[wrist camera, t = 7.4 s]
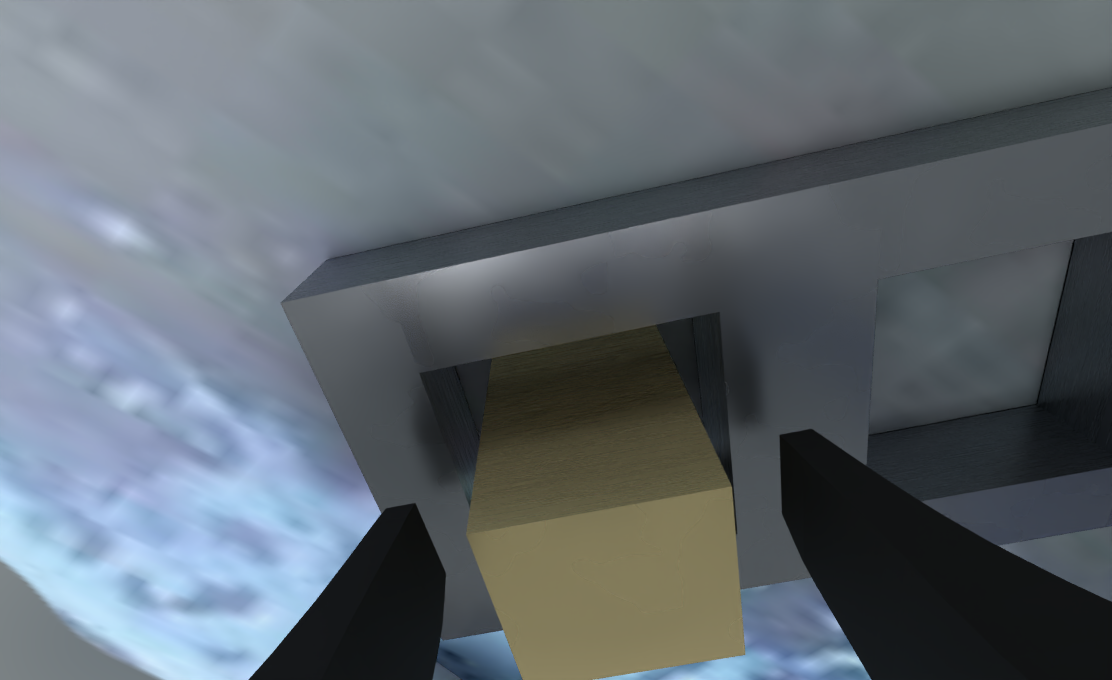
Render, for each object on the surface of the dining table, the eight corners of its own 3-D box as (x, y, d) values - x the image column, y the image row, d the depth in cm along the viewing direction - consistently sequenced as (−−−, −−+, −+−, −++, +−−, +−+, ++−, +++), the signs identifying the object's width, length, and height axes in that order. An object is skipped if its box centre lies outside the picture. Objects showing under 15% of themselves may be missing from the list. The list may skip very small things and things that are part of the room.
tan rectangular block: (670, 445, 15) (745, 654, 10) (529, 472, 15) (526, 690, 10) (652, 317, 13) (731, 486, 8) (493, 349, 14) (466, 535, 8)
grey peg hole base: (1212, 65, 11) (1383, 65, 9) (1096, 448, 16) (1190, 512, 13) (326, 259, 12) (280, 302, 10) (455, 563, 17) (442, 640, 14)
